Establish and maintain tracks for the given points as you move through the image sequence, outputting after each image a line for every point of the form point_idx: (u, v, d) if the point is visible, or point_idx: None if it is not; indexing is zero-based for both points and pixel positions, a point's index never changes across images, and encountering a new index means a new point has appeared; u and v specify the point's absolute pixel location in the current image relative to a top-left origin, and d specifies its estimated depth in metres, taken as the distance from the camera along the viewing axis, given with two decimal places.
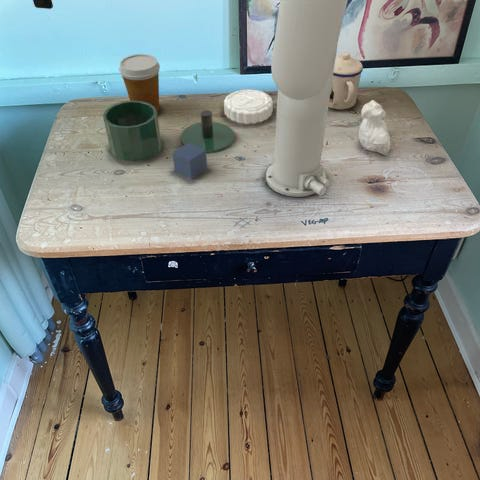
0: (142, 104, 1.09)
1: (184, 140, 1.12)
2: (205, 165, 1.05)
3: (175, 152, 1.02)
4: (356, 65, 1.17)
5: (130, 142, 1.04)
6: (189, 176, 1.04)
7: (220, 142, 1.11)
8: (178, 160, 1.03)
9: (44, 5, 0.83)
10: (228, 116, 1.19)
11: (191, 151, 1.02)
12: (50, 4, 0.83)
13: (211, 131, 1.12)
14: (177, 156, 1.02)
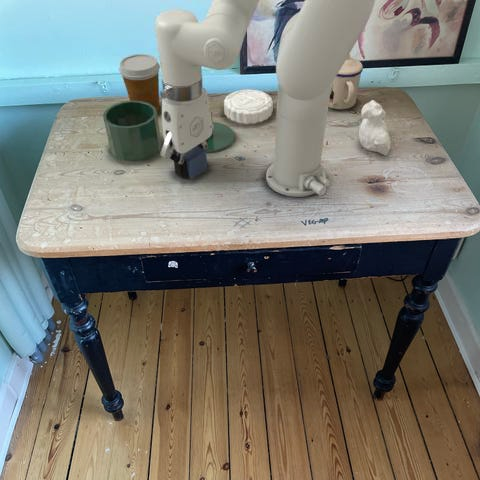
0: (142, 104, 1.09)
1: None
2: (205, 165, 1.05)
3: None
4: (356, 65, 1.17)
5: (130, 142, 1.04)
6: (189, 176, 1.04)
7: (220, 142, 1.11)
8: None
9: (181, 176, 1.04)
10: (228, 116, 1.19)
11: (191, 151, 1.02)
12: (185, 177, 1.04)
13: None
14: None
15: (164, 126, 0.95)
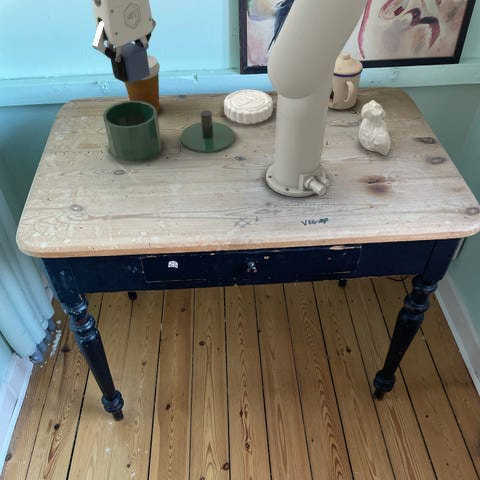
0: (142, 104, 1.09)
1: (184, 140, 1.12)
2: (147, 67, 0.96)
3: None
4: (356, 65, 1.17)
5: (130, 142, 1.04)
6: (128, 78, 0.95)
7: (220, 142, 1.11)
8: None
9: (120, 78, 0.95)
10: (228, 116, 1.19)
11: (130, 49, 0.94)
12: (124, 79, 0.95)
13: (211, 131, 1.12)
14: None
15: (95, 13, 0.86)
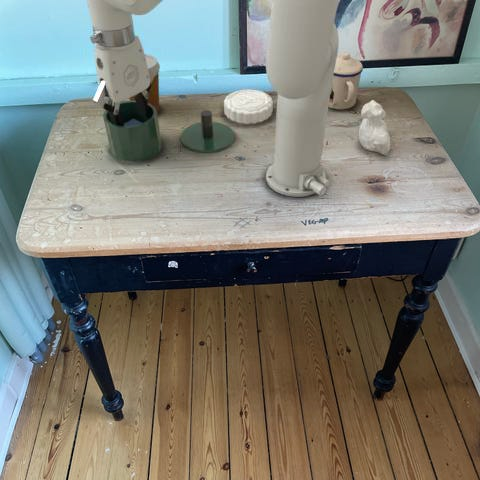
0: None
1: (184, 140, 1.12)
2: None
3: None
4: (356, 65, 1.17)
5: (130, 142, 1.04)
6: None
7: (220, 142, 1.11)
8: None
9: None
10: (228, 116, 1.19)
11: None
12: None
13: (211, 131, 1.12)
14: None
15: (98, 74, 0.96)
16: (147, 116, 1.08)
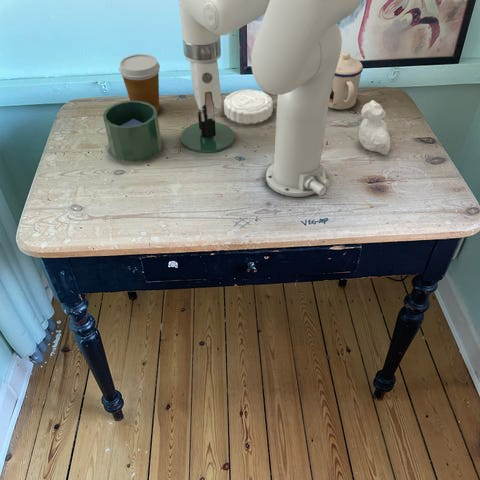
0: (142, 104, 1.09)
1: (184, 140, 1.12)
2: None
3: None
4: (356, 65, 1.17)
5: (130, 142, 1.04)
6: None
7: (220, 142, 1.11)
8: None
9: (210, 134, 1.11)
10: (228, 116, 1.19)
11: None
12: (215, 133, 1.11)
13: None
14: None
15: (203, 89, 1.00)
16: None
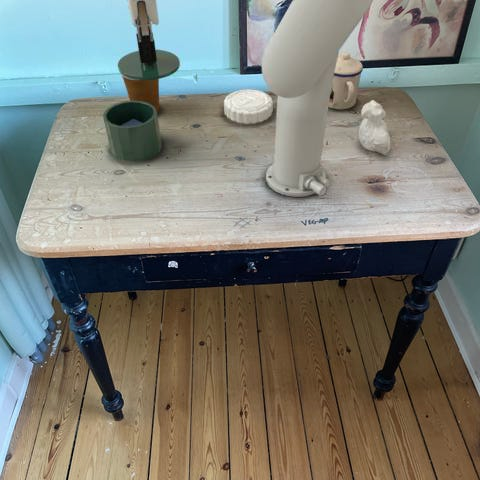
0: (142, 104, 1.09)
1: (121, 67, 0.97)
2: None
3: None
4: (356, 65, 1.17)
5: (130, 142, 1.04)
6: None
7: (162, 69, 0.97)
8: None
9: (150, 60, 0.96)
10: (228, 116, 1.19)
11: None
12: (155, 58, 0.96)
13: None
14: None
15: None
16: None
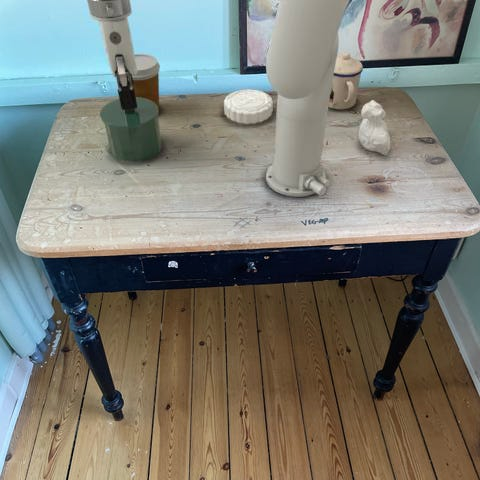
0: None
1: (103, 116, 1.04)
2: None
3: None
4: (356, 65, 1.17)
5: (130, 142, 1.04)
6: None
7: (141, 118, 1.03)
8: None
9: (130, 106, 0.99)
10: (228, 116, 1.19)
11: None
12: (136, 104, 0.99)
13: None
14: None
15: (112, 51, 0.91)
16: (133, 83, 1.05)
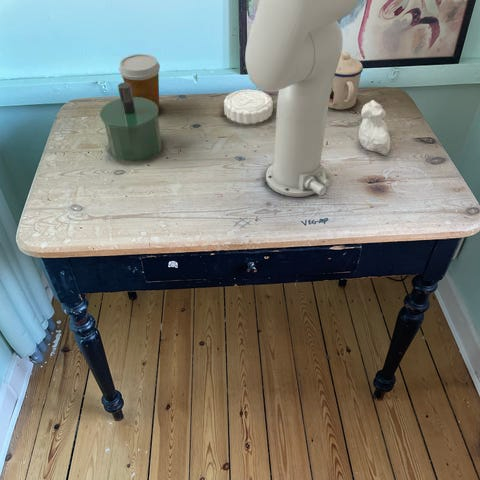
0: None
1: (103, 116, 1.04)
2: None
3: None
4: (356, 65, 1.17)
5: (130, 142, 1.04)
6: None
7: (141, 118, 1.03)
8: None
9: None
10: (228, 116, 1.19)
11: None
12: None
13: (131, 106, 1.03)
14: None
15: None
16: None
